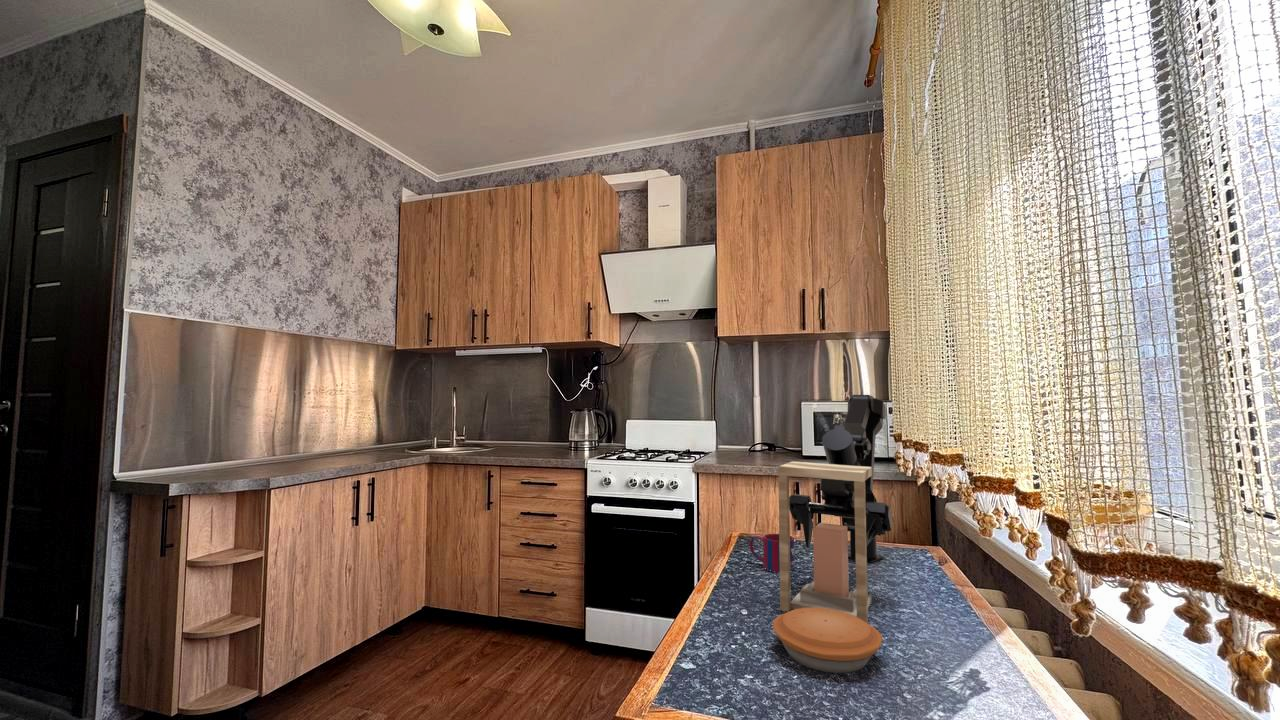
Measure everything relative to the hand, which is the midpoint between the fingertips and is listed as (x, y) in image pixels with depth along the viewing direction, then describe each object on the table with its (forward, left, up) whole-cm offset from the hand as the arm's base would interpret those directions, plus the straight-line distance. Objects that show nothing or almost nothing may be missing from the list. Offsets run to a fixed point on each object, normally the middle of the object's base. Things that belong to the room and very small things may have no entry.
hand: (832, 550), depth 102 cm
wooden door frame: (+1, 0, -9) cm, 10 cm away
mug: (-9, -20, -10) cm, 24 cm away
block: (+1, 0, -8) cm, 8 cm away
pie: (+19, +10, -10) cm, 24 cm away
